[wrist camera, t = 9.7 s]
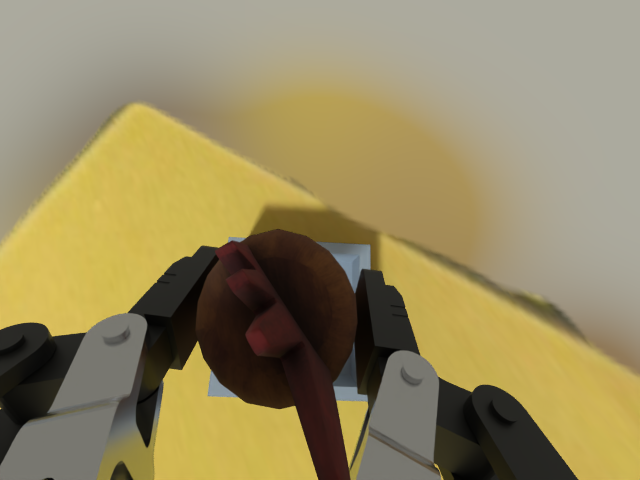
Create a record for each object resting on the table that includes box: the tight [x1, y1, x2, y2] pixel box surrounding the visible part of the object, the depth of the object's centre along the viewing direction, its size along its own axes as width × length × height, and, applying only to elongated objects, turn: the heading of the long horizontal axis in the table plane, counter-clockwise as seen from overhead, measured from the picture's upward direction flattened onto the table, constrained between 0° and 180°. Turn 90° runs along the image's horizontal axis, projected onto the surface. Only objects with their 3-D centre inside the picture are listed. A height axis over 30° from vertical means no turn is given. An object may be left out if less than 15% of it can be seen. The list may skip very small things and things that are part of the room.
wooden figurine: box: [195, 229, 358, 480], centre depth 10 cm, size 7×6×15 cm
